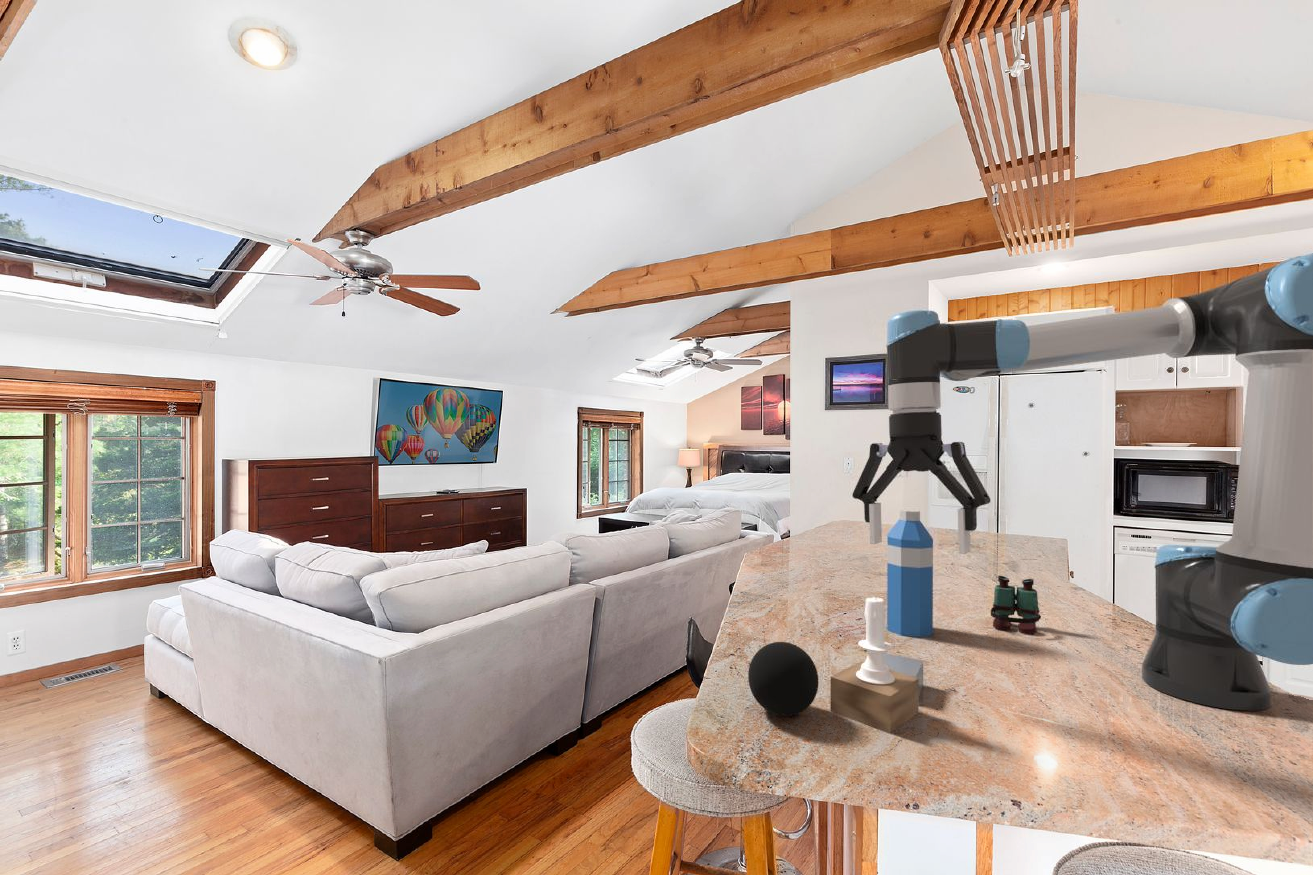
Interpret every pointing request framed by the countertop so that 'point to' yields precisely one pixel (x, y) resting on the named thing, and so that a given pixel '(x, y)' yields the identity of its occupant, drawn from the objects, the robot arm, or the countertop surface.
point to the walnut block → (875, 699)
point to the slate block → (905, 666)
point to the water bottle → (910, 577)
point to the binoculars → (1015, 606)
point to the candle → (875, 644)
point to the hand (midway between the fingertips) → (918, 547)
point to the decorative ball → (783, 678)
